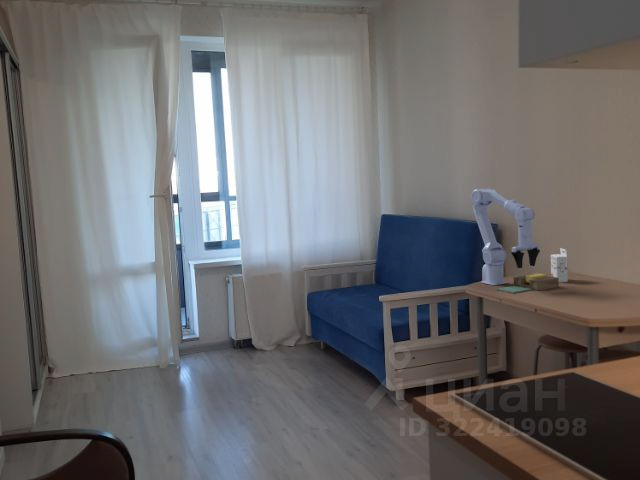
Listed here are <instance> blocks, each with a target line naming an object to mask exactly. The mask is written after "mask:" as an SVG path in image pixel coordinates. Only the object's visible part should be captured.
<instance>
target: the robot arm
mask: <svg viewBox="0 0 640 480" xmlns="http://www.w3.org/2000/svg"><path fill="white" fill-rule="evenodd" d="M469 198H470V201H471V204H472V209H473V210H472V211H473V215H474V218H475V221H476V223H477V226H478V229H479V232H480V234H481V238H482V240H483V243H484V247H483V248H482V250H481V252H482V259H483V261H484V263H485V264H483V266H482V271H481V272H482V273H481V274H482V275H481V277H482V278H481V279H482V280H481V282H480V283H481V284H486V285H492V286H499V285H505V284H508V283H509V282H508V281H505V280H504V278H505V277H504V264H505V262H506V260H507V258H508V255H507V252H506V250H505V249H504V248H503V245H502V244H500V243H499V242H497V238H496V235H495V232H494V230H493V227H492V225H491V220H490V218H489V215H488V212H487V210H488V208H489V207H490V205H491V204H492V203H495V204H497V205H498V206H499V205H500V206H501V207H503V209H504V211H505V212H506V213H508V214H510V215H511V216H513V217H514V218H515V220H516V225H517V229H518V231H517V235H518V238H517V239H518V240H517V242H518V245H516V246H512V247H511V255H512V256H513V259H514V260H515V265H516V267H517V269H523V259H524V255H525V252H524V251H527V255H528V262H529V266H530V267H535V265H536V261H537V258H538V256H539V254H540V252H541V250H540V244H539V243H534V244H533V220H534V219H535V214H536V213H535V210H534V208H532V207H530V206H527V207H526V206H525V205H524V204H520V203H519V202H517V200H516V199H509V200H508V199H507V198H506V197H504V196H502V195H501V194H499V193H498V192H497V190H495V189H493V188H492V187H491V188H490V187H489V188H480V189H479V188H478V189H473V191H472V192H471V194H470V197H469Z"/></svg>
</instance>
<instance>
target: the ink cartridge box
mask: <svg viewBox="0 0 640 480" xmlns="http://www.w3.org/2000/svg"><path fill="white" fill-rule="evenodd" d="M559 251H560V254H559V253H556V254H555V253H554V254H550V276H551V277H557V278H558V282H559V283H567V282H568V281H569V277H568V276H569V275H568V274H569V273H568V272H569V271H568V252H567V249H565V248H561V247H559Z"/></svg>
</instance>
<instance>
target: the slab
mask: <svg viewBox="0 0 640 480" xmlns="http://www.w3.org/2000/svg"><path fill="white" fill-rule="evenodd" d="M532 274H533V275H530V274H526V275H527V276H526V282H529V280H532V279H538V278H544V277H546V276H547V274H544V273H532Z"/></svg>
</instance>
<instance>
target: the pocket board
mask: <svg viewBox="0 0 640 480" xmlns="http://www.w3.org/2000/svg"><path fill="white" fill-rule="evenodd" d="M533 274H534V273H532V274H531V273H530V274H529V275H533ZM527 275H528V274H524V275H517V276H514V277H513V286H518V287H523V288H528V289H531V290H532V289H533V290H532V291H537V290H538V291H543V290H549V289H554V288H559V283H560V282H558V278H557V277H551V275H550V276H549V275H546V277H544V278H538V279H532V280H529V282H526V276H527Z"/></svg>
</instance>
